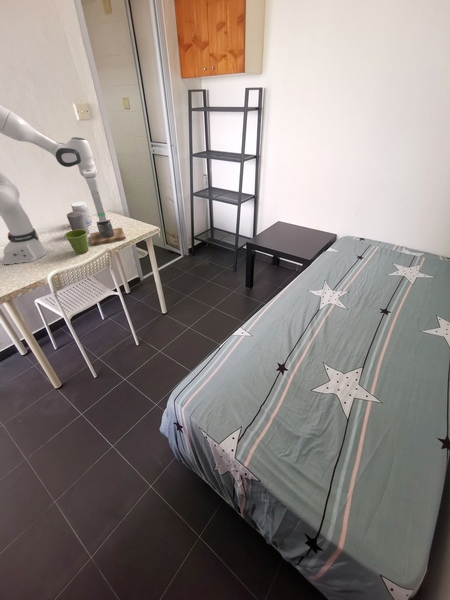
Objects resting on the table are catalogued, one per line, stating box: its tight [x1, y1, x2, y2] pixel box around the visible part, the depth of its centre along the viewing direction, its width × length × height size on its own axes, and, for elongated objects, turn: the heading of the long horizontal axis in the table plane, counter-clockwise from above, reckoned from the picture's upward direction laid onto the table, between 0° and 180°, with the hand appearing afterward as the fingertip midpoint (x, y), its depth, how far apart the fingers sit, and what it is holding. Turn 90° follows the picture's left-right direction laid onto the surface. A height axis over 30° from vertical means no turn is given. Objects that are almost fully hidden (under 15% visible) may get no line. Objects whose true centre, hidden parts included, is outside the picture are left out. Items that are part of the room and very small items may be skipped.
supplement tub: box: [70, 201, 93, 227], centre depth 196 cm, size 10×10×15 cm
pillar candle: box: [66, 211, 90, 235], centre depth 182 cm, size 10×10×15 cm
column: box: [90, 190, 108, 222], centre depth 168 cm, size 5×5×21 cm
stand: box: [89, 219, 127, 247], centre depth 177 cm, size 20×16×11 cm
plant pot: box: [63, 229, 89, 255], centre depth 162 cm, size 12×12×11 cm
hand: (95, 196), depth 165 cm, fingers closed on column, 4 cm apart
